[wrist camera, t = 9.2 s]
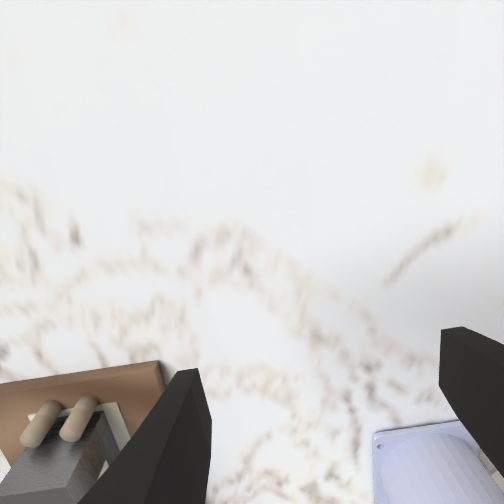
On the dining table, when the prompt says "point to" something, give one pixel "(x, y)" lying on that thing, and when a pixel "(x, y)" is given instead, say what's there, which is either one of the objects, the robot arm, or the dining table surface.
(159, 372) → the pin tray
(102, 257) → the dining table surface
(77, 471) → the block
